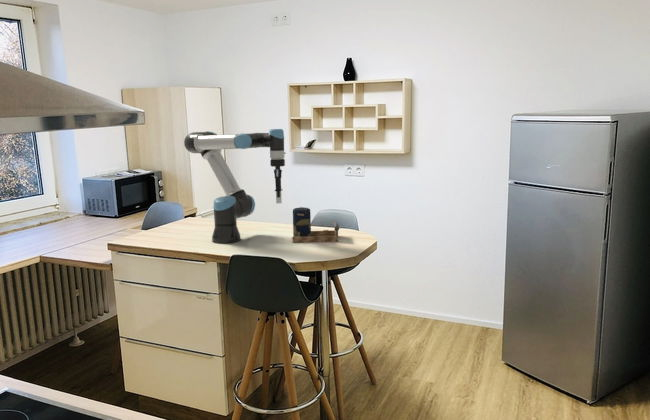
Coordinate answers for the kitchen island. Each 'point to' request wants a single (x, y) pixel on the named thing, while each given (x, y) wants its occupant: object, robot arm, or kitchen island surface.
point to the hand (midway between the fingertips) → (278, 203)
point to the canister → (301, 222)
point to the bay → (320, 236)
